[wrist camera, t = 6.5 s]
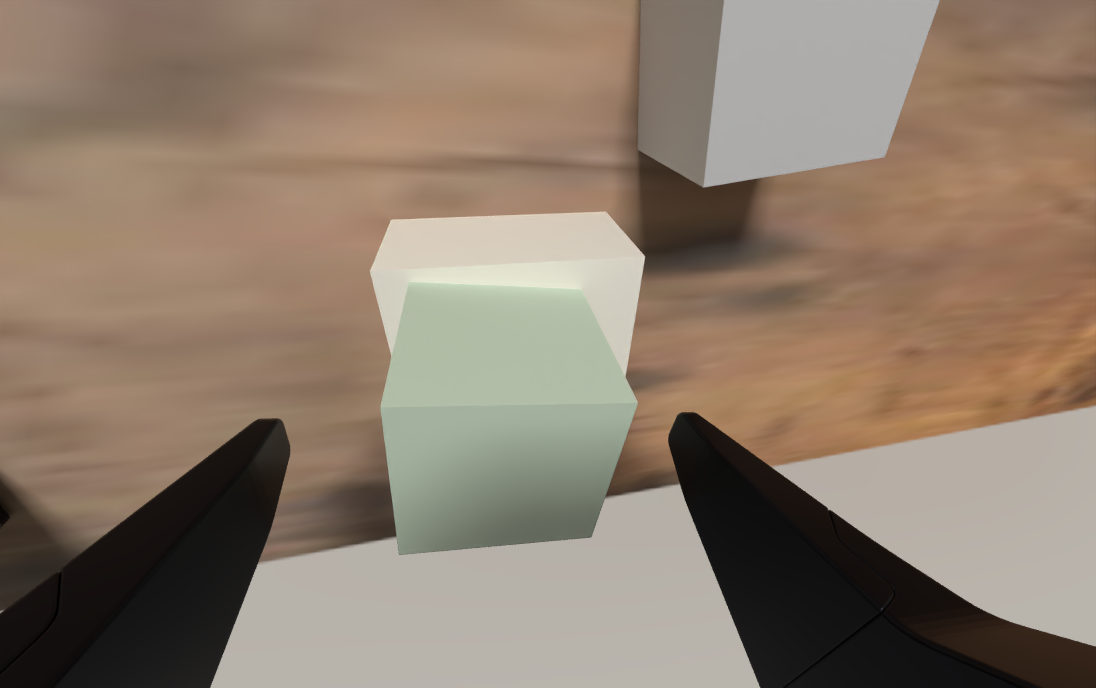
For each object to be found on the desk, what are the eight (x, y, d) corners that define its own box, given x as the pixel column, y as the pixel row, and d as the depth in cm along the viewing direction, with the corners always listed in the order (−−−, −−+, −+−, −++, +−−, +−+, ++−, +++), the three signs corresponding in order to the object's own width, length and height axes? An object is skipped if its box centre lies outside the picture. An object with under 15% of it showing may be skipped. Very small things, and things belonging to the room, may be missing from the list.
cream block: (426, 383, 17) (417, 459, 14) (392, 217, 13) (370, 271, 10) (588, 367, 18) (615, 435, 15) (604, 209, 14) (645, 256, 11)
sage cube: (416, 412, 13) (398, 554, 9) (409, 281, 10) (380, 407, 7) (557, 409, 14) (590, 537, 10) (581, 289, 11) (637, 402, 8)
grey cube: (636, 149, 13) (703, 187, 9) (640, -44, 10) (734, -92, 7) (771, 127, 13) (884, 157, 10) (806, -64, 11) (981, -121, 7)
